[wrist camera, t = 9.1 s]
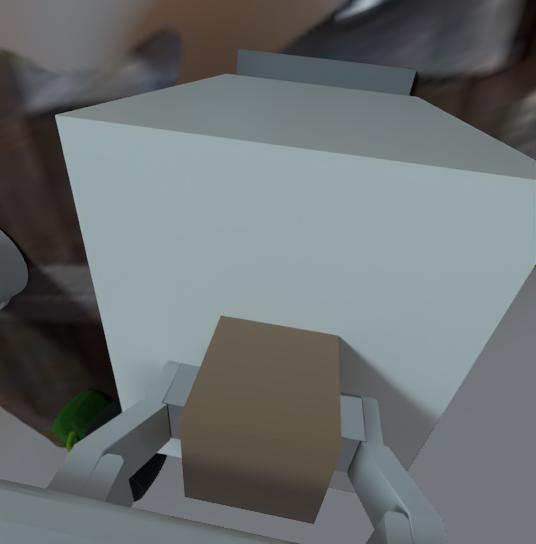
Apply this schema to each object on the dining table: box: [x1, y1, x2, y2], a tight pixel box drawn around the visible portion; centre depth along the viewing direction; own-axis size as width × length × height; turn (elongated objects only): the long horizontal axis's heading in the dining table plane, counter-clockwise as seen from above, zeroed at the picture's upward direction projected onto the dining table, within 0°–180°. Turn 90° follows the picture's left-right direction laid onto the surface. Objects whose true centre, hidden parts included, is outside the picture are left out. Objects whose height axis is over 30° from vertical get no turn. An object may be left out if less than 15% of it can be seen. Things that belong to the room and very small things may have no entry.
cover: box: [55, 74, 536, 524], centre depth 19 cm, size 13×16×22 cm
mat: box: [237, 49, 416, 96], centre depth 36 cm, size 16×18×1 cm
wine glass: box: [82, 399, 167, 502], centre depth 48 cm, size 10×10×20 cm
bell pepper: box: [52, 390, 111, 452], centre depth 62 cm, size 8×8×10 cm
